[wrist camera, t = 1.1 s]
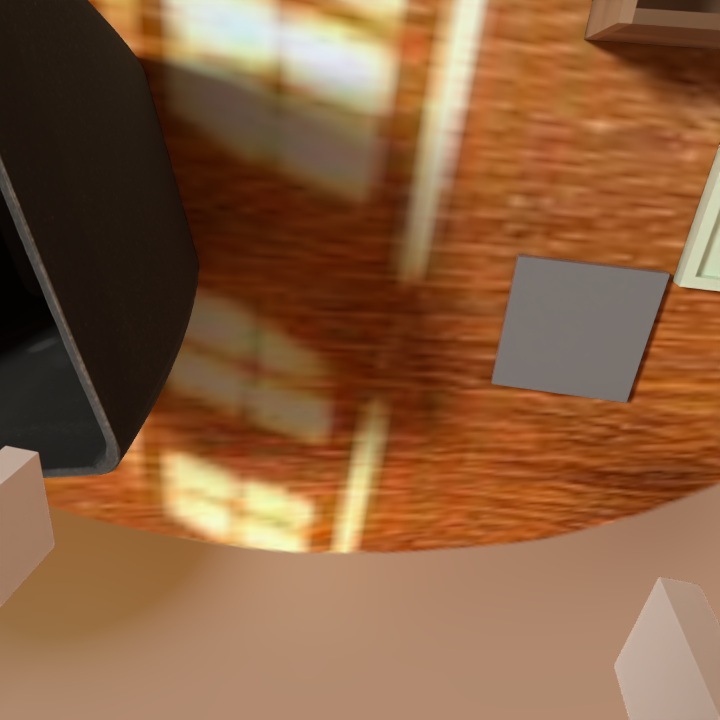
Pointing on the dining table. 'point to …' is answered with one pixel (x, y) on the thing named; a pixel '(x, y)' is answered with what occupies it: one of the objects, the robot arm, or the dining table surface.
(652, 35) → the walnut open box
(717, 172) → the green tray
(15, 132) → the flower pot
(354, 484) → the dining table surface
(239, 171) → the dining table surface
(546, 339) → the slate coaster
